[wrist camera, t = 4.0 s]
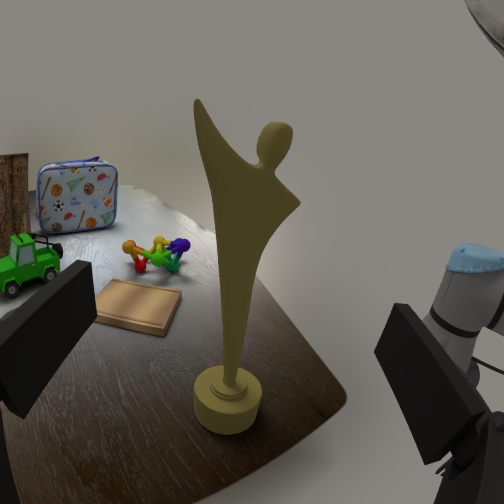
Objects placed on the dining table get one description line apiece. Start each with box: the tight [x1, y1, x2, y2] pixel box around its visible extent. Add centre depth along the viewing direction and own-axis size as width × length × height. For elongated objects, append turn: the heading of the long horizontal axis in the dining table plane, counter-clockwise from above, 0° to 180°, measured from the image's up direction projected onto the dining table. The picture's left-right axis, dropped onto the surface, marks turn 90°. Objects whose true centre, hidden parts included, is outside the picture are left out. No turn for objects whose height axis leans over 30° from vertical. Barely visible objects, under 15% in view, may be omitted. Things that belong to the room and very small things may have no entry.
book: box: [0, 153, 31, 259], centre depth 45 cm, size 16×6×25 cm, turn 85°
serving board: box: [94, 279, 181, 336], centre depth 45 cm, size 14×12×2 cm
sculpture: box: [193, 99, 300, 435], centre depth 23 cm, size 11×7×30 cm, turn 129°
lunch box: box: [36, 156, 118, 234], centre depth 71 cm, size 28×10×22 cm, turn 131°
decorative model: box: [122, 236, 191, 272], centre depth 58 cm, size 13×9×15 cm
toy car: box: [0, 233, 63, 298], centre depth 42 cm, size 8×17×10 cm, turn 151°
